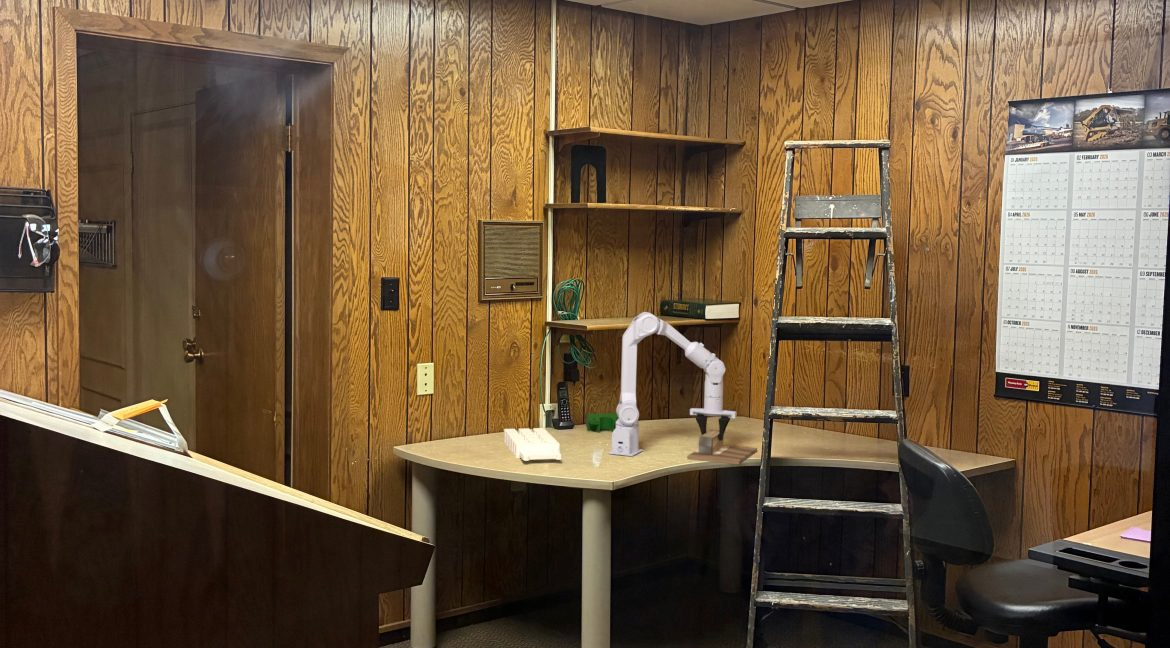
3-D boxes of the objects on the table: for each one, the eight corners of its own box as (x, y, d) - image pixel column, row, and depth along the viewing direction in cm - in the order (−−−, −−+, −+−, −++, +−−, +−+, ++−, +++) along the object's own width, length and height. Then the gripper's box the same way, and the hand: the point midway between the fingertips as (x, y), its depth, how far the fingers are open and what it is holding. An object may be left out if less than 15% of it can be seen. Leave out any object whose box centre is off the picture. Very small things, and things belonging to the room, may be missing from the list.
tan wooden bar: (723, 446, 324) (723, 431, 324) (711, 454, 312) (711, 438, 311) (711, 445, 326) (711, 429, 325) (698, 453, 313) (698, 437, 313)
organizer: (543, 428, 334) (565, 449, 300) (543, 442, 334) (564, 465, 300) (503, 428, 331) (520, 450, 297) (503, 443, 331) (520, 466, 297)
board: (738, 464, 303) (738, 460, 303) (687, 459, 309) (687, 455, 309) (756, 451, 323) (757, 447, 323) (708, 446, 330) (708, 443, 329)
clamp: (594, 444, 352) (586, 422, 349) (590, 437, 358) (582, 415, 354) (626, 431, 354) (618, 409, 350) (621, 424, 359) (613, 402, 356)
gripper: (739, 396, 319) (738, 439, 320) (695, 393, 325) (694, 435, 326) (733, 399, 313) (732, 443, 314) (688, 395, 318) (687, 438, 319)
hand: (712, 439), depth 319 cm, fingers open, 5 cm apart
